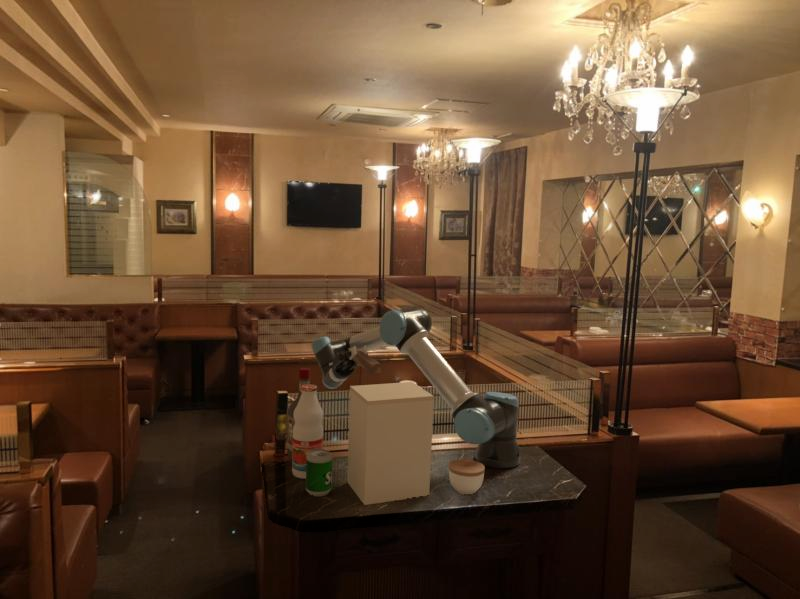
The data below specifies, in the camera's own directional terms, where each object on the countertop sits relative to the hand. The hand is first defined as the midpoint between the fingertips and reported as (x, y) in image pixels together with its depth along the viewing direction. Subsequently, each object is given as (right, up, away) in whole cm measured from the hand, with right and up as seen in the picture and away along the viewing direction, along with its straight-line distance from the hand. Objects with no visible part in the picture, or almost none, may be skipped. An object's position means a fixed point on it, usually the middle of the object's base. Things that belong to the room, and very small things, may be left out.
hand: (360, 349), depth 206 cm
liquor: (-19, -36, +1) cm, 41 cm away
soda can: (-11, -40, -26) cm, 48 cm away
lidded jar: (+33, -41, -21) cm, 56 cm away
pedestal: (+9, -40, -22) cm, 46 cm away
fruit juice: (-16, -38, -13) cm, 43 cm away
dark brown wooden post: (+1, -5, -2) cm, 5 cm away
